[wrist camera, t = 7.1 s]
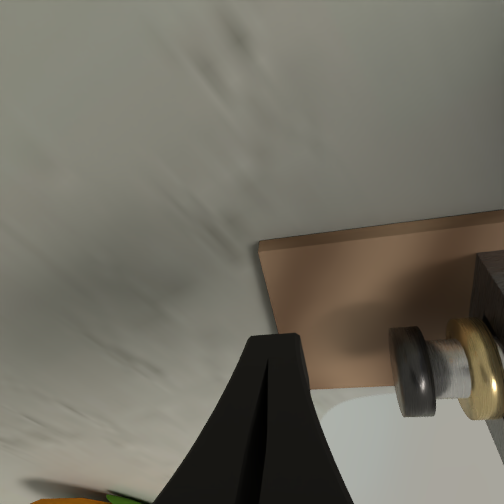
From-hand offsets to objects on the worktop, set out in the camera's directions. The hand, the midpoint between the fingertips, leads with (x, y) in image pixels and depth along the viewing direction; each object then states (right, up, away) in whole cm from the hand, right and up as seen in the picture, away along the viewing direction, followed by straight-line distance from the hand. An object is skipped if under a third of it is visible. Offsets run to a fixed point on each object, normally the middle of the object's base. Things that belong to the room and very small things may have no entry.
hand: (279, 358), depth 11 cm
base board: (+9, 0, +10) cm, 14 cm away
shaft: (+12, -1, +8) cm, 14 cm away
